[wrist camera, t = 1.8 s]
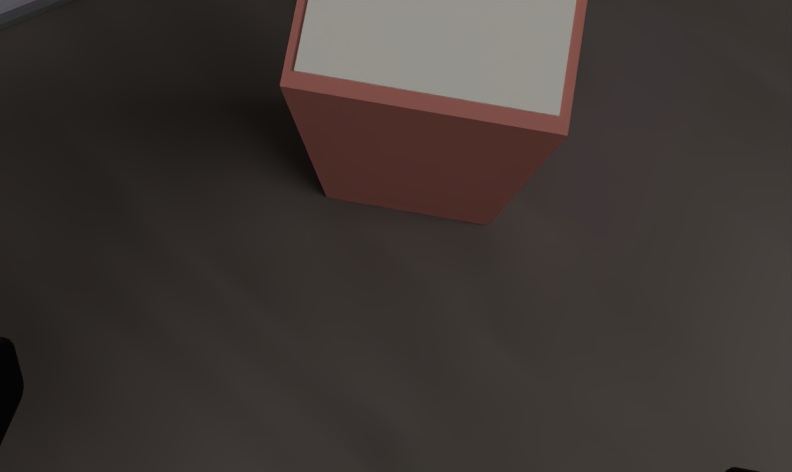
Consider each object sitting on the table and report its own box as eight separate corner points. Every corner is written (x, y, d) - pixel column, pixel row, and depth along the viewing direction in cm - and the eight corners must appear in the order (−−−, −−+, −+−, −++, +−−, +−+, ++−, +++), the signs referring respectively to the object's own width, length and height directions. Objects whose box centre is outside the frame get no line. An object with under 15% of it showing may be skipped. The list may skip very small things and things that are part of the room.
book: (487, 225, 22) (568, 134, 12) (326, 197, 23) (279, 84, 13) (502, 131, 23) (592, -29, 13) (344, 104, 23) (312, -77, 13)
